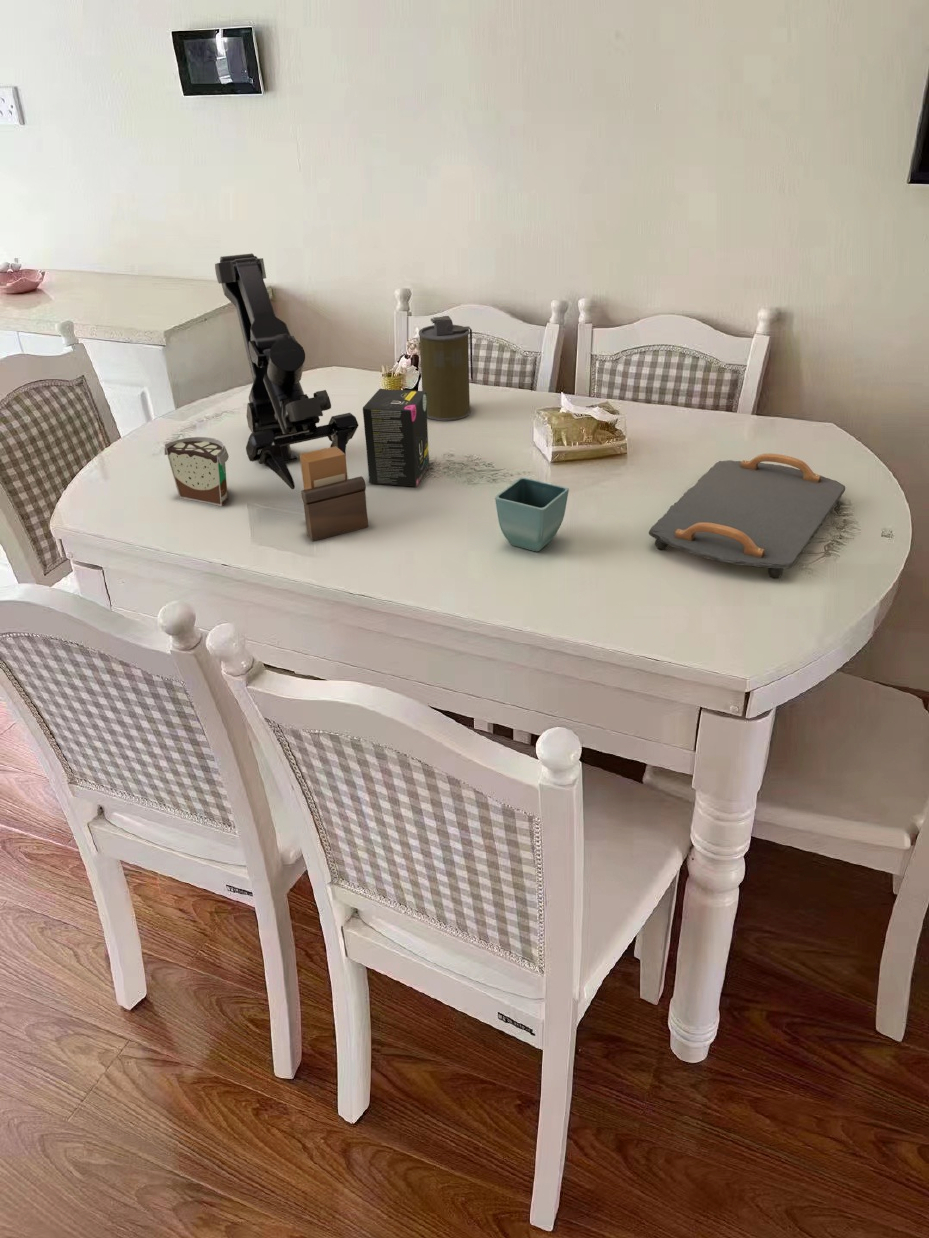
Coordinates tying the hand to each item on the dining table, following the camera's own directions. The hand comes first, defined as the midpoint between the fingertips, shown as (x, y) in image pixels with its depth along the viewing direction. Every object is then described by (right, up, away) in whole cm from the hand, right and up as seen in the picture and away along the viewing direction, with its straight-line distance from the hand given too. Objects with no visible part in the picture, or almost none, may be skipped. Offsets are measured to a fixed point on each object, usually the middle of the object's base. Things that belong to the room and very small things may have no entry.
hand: (319, 482), depth 162 cm
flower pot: (+35, -11, -7) cm, 37 cm away
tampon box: (+12, +4, +18) cm, 22 cm away
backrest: (+3, -8, -2) cm, 9 cm away
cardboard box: (+2, -7, +1) cm, 7 cm away
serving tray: (+71, -7, -2) cm, 72 cm away
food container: (-21, -1, +12) cm, 24 cm away
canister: (+21, +21, +45) cm, 54 cm away
